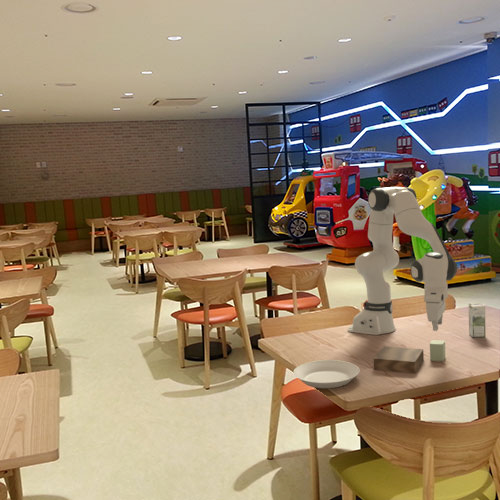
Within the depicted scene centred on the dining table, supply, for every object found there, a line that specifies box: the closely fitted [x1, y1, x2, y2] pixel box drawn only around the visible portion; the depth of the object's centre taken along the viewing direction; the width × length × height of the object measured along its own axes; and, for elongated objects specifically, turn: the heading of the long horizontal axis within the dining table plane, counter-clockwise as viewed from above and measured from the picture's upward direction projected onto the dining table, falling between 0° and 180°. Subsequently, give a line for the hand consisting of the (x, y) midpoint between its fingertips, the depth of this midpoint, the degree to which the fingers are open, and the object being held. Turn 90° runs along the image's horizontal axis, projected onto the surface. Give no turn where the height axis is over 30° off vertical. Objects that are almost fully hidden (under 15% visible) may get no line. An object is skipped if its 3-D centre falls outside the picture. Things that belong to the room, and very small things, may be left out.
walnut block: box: [372, 346, 425, 374], centre depth 229 cm, size 16×16×5 cm
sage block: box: [429, 339, 446, 362], centre depth 232 cm, size 5×5×7 cm
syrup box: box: [468, 302, 487, 338], centre depth 258 cm, size 6×6×14 cm
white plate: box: [292, 359, 361, 389], centre depth 219 cm, size 25×25×4 cm
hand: (437, 327), depth 230 cm, fingers open, 8 cm apart
